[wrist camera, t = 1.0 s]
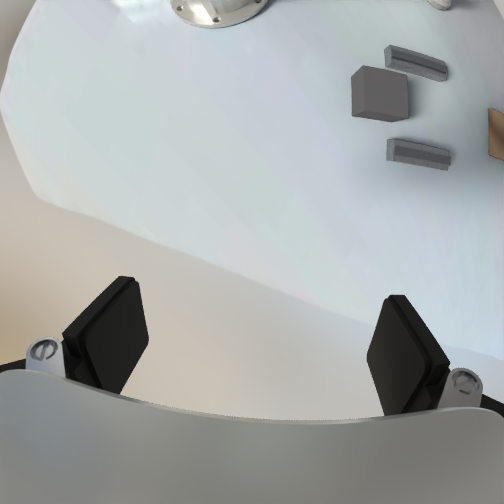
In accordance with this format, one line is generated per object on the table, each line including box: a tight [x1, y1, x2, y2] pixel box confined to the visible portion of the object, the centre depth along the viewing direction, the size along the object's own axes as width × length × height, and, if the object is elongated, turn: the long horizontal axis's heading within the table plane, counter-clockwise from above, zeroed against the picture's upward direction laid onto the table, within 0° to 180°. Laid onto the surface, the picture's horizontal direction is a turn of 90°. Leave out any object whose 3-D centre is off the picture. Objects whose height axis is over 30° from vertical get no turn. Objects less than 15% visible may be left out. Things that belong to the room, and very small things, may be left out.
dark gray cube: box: [351, 65, 409, 122], centre depth 24 cm, size 5×5×5 cm
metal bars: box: [384, 45, 450, 171], centre depth 25 cm, size 14×8×2 cm, turn 179°
